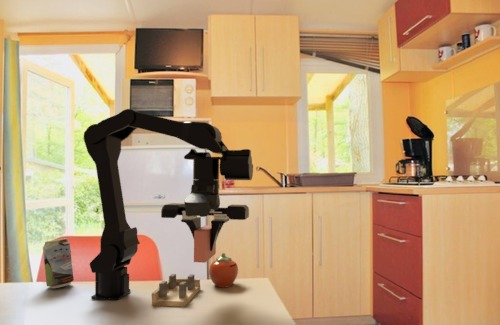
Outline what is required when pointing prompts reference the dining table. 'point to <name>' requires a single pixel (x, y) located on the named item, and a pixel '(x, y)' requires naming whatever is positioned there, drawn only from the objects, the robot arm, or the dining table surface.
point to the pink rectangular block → (203, 244)
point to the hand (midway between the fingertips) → (205, 250)
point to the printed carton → (58, 263)
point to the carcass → (176, 291)
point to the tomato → (223, 271)
